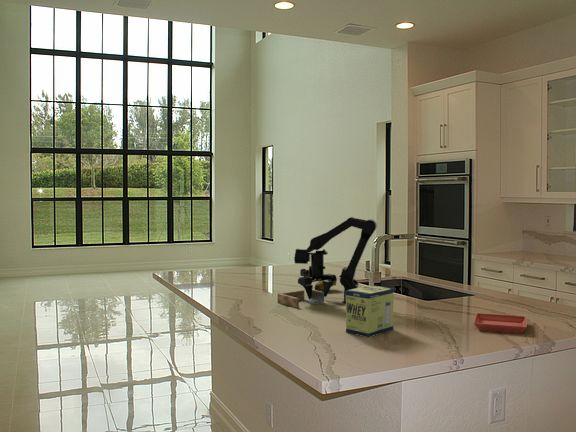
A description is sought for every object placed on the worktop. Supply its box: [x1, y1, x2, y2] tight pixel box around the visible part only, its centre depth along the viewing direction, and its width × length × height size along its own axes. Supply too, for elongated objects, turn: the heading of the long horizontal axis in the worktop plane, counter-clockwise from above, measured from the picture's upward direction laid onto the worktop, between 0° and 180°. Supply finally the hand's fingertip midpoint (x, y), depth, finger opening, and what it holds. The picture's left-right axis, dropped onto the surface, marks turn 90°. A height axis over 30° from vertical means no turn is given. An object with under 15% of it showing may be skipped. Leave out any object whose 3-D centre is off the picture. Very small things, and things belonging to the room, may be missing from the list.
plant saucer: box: [473, 312, 528, 334], centre depth 215 cm, size 18×18×3 cm
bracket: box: [303, 289, 325, 305], centre depth 264 cm, size 8×6×5 cm
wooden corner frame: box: [277, 289, 305, 308], centre depth 262 cm, size 14×15×4 cm
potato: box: [314, 277, 338, 292], centre depth 291 cm, size 8×13×8 cm, turn 109°
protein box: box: [345, 284, 394, 338], centre depth 211 cm, size 10×16×16 cm
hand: (317, 297), depth 265 cm, fingers open, 9 cm apart
